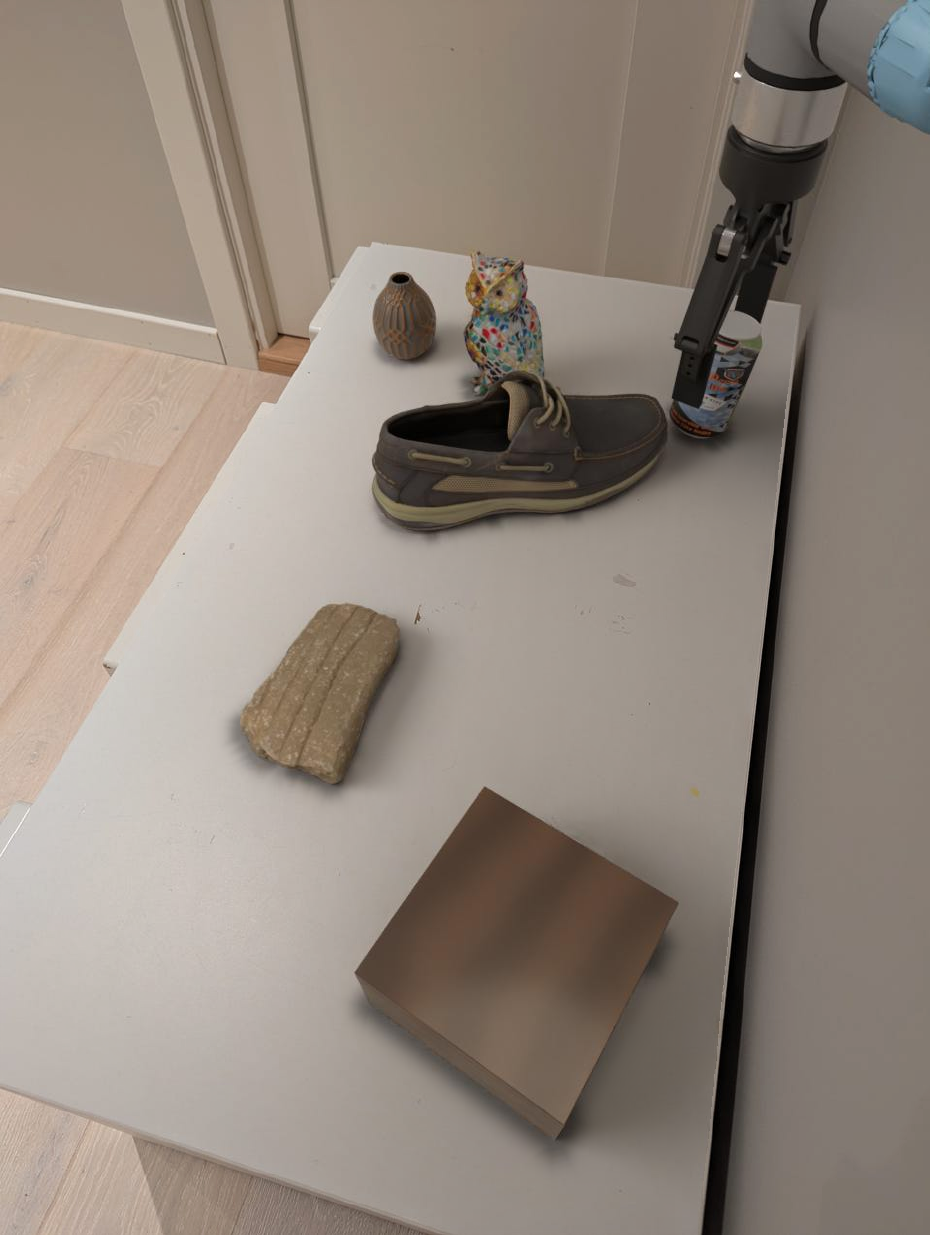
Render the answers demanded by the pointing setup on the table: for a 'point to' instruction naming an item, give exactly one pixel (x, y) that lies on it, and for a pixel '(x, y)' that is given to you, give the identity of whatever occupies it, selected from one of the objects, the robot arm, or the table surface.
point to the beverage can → (723, 378)
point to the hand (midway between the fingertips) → (716, 361)
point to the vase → (404, 318)
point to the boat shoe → (513, 453)
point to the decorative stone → (322, 691)
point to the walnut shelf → (516, 957)
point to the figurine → (501, 321)
